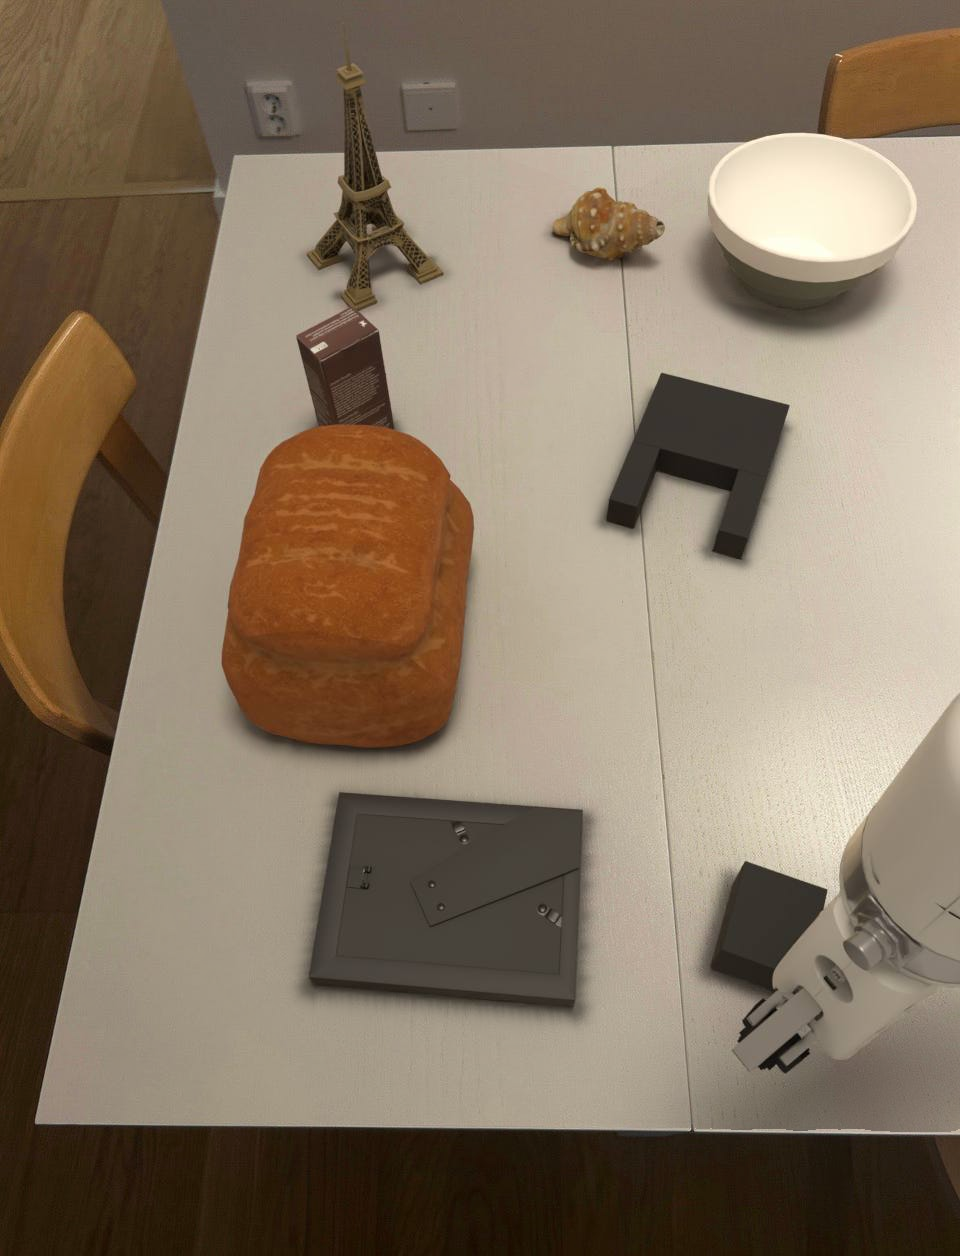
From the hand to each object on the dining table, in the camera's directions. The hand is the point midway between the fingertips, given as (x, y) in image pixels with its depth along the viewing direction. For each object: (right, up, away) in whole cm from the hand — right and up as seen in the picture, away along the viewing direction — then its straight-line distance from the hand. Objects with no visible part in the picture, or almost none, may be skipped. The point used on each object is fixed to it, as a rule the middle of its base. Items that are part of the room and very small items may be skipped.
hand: (833, 987), depth 56 cm
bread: (-28, +19, +31) cm, 46 cm away
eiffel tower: (-30, +57, +55) cm, 85 cm away
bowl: (+13, +55, +53) cm, 78 cm away
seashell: (-5, +59, +56) cm, 82 cm away
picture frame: (-21, 0, +19) cm, 28 cm away
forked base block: (+1, +33, +39) cm, 51 cm away
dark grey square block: (+1, -2, +17) cm, 17 cm away
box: (-30, +37, +43) cm, 64 cm away
